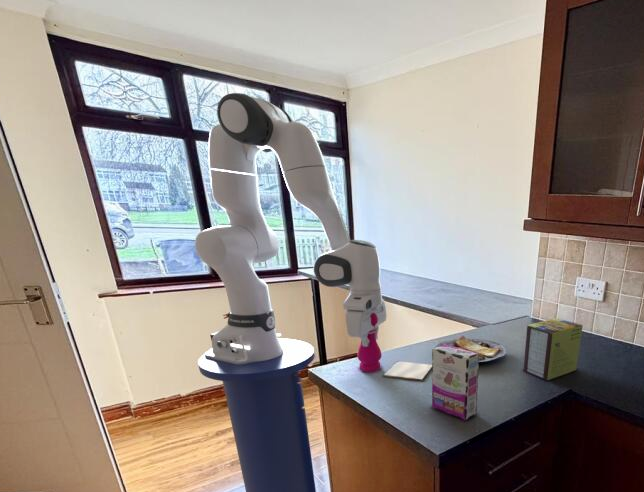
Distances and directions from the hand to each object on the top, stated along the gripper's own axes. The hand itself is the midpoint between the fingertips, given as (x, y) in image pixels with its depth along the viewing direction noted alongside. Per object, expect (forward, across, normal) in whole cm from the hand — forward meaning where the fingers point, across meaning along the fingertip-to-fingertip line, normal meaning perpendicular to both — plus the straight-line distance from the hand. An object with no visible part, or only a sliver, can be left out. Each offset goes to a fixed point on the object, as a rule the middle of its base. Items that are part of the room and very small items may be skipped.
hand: (370, 342), depth 124 cm
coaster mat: (+9, -1, +12) cm, 15 cm away
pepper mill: (+9, 0, -1) cm, 9 cm away
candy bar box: (+9, +21, +31) cm, 39 cm away
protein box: (+10, -14, +55) cm, 58 cm away
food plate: (+9, -21, +27) cm, 36 cm away
